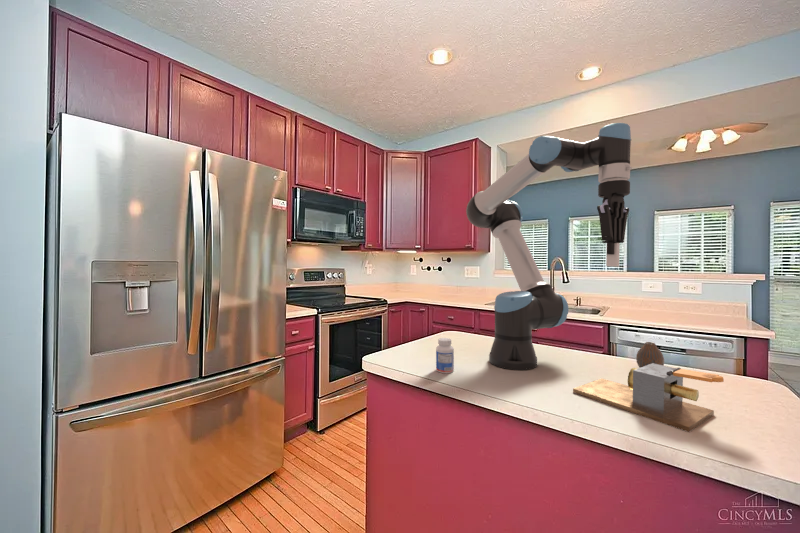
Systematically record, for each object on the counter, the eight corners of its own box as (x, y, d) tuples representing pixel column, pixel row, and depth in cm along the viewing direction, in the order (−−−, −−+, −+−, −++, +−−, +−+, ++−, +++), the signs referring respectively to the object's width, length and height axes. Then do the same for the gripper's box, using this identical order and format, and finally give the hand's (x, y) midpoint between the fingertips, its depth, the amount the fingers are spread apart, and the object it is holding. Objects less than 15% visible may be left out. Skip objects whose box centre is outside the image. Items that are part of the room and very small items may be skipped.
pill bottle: (439, 367, 109) (440, 336, 109) (456, 369, 107) (456, 338, 107) (433, 372, 104) (433, 340, 104) (450, 374, 102) (450, 342, 102)
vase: (639, 373, 103) (639, 344, 103) (633, 366, 110) (634, 339, 109) (667, 376, 101) (667, 346, 100) (659, 369, 107) (660, 341, 107)
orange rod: (673, 375, 74) (673, 372, 74) (681, 372, 77) (681, 368, 77) (719, 383, 68) (719, 380, 68) (726, 379, 70) (726, 376, 70)
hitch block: (573, 392, 88) (573, 354, 88) (601, 381, 96) (602, 346, 96) (688, 432, 68) (689, 382, 68) (713, 414, 76) (714, 370, 75)
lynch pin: (627, 391, 82) (627, 369, 82) (637, 387, 84) (638, 366, 84) (691, 410, 71) (692, 385, 71) (700, 404, 74) (701, 381, 74)
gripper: (616, 176, 89) (615, 267, 89) (640, 182, 96) (638, 266, 96) (587, 181, 95) (586, 266, 96) (611, 186, 102) (610, 265, 103)
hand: (612, 266), depth 96 cm, fingers closed
